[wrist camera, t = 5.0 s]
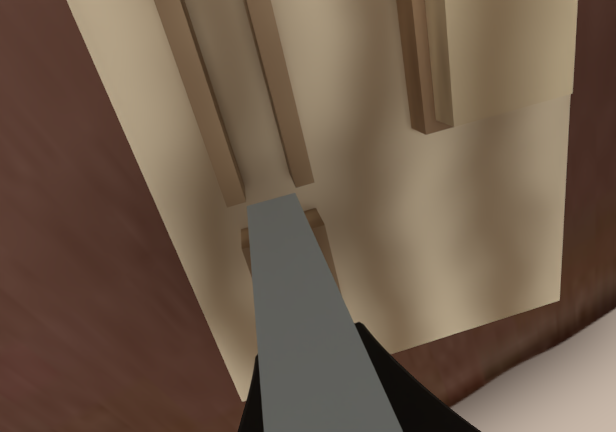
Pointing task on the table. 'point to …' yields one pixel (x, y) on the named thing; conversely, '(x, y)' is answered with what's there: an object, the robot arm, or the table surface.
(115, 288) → the table surface
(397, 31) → the rack
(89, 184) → the table surface
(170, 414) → the table surface
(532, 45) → the offcut top
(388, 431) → the grey blue slab
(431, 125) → the plate
